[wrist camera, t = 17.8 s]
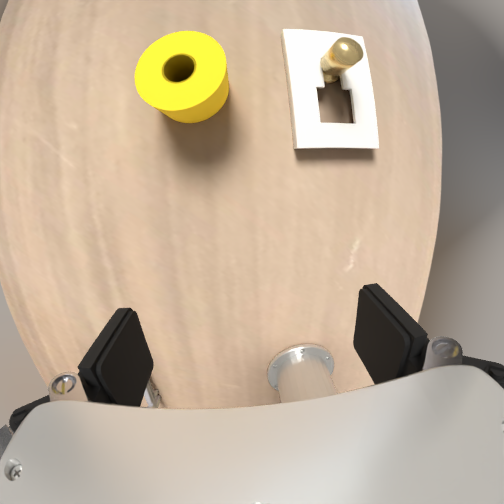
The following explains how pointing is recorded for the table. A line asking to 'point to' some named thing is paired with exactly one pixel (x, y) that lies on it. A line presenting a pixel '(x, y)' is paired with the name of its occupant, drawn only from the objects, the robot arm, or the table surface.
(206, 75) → the yellow toilet paper roll
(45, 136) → the table surface
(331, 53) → the brass peg
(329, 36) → the keyhole plate
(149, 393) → the caliper
